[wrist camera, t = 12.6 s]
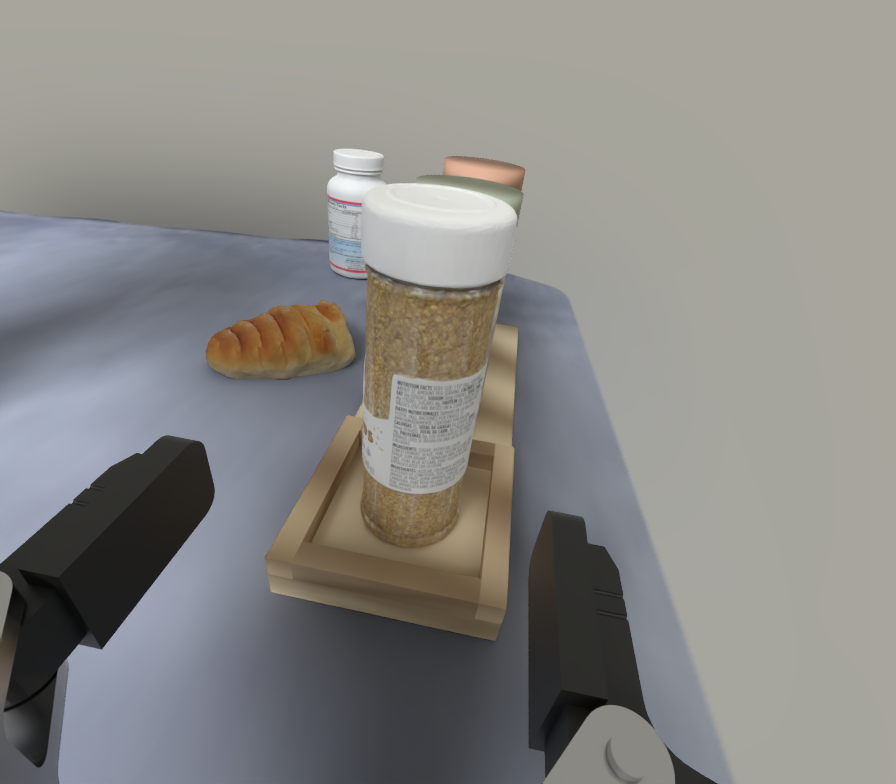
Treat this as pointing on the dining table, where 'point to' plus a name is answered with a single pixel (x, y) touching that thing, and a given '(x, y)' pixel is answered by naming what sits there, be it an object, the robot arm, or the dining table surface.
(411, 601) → the wooden stand
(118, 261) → the dining table surface
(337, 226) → the pill bottle
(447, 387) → the spice jar
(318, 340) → the pastry
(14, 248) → the dining table surface
